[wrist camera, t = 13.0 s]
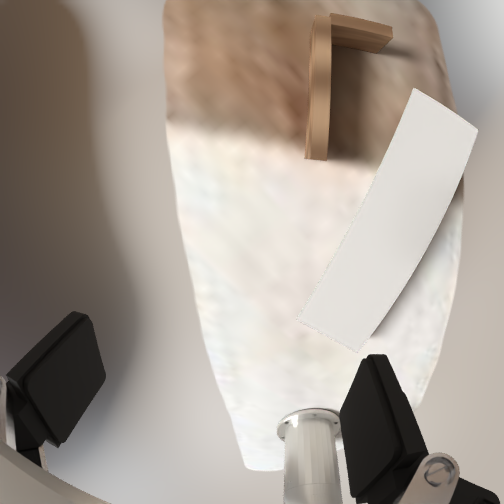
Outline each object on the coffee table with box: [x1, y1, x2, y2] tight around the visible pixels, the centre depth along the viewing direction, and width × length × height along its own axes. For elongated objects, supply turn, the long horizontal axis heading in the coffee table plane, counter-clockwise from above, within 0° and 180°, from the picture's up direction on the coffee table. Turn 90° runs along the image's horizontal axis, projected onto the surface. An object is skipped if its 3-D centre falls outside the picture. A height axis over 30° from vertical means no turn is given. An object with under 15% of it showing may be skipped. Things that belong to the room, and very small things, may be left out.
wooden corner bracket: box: [305, 13, 393, 161], centre depth 26 cm, size 17×9×6 cm, turn 177°
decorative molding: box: [296, 88, 478, 353], centre depth 33 cm, size 34×5×10 cm
